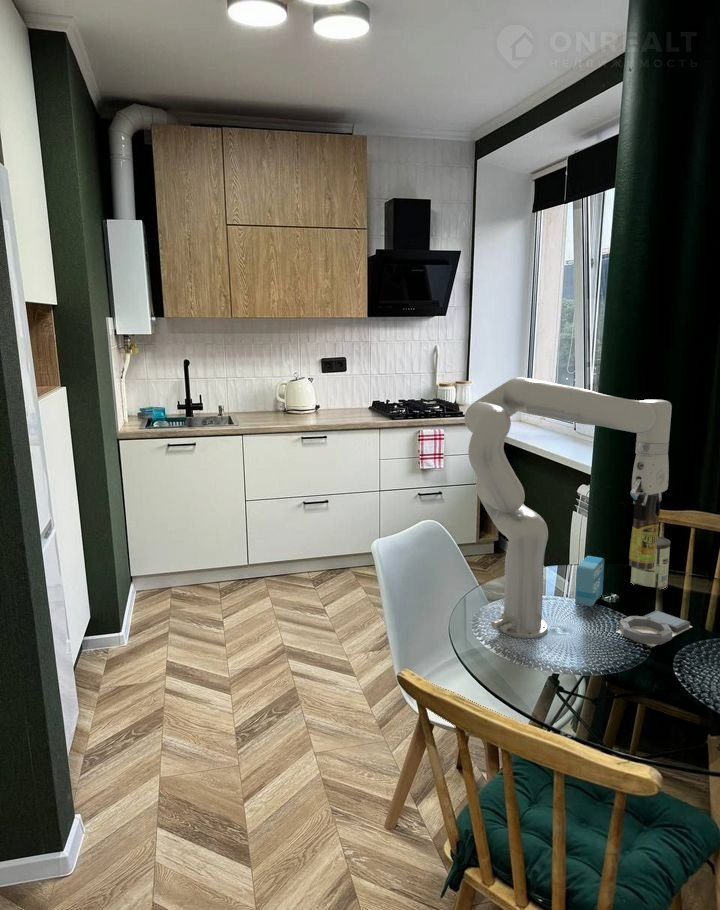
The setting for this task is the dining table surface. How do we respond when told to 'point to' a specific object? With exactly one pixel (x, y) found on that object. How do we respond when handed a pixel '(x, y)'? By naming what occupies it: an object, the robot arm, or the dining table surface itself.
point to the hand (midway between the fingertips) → (646, 516)
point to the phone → (670, 620)
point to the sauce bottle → (645, 537)
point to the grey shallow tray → (646, 630)
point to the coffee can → (655, 568)
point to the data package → (589, 581)
